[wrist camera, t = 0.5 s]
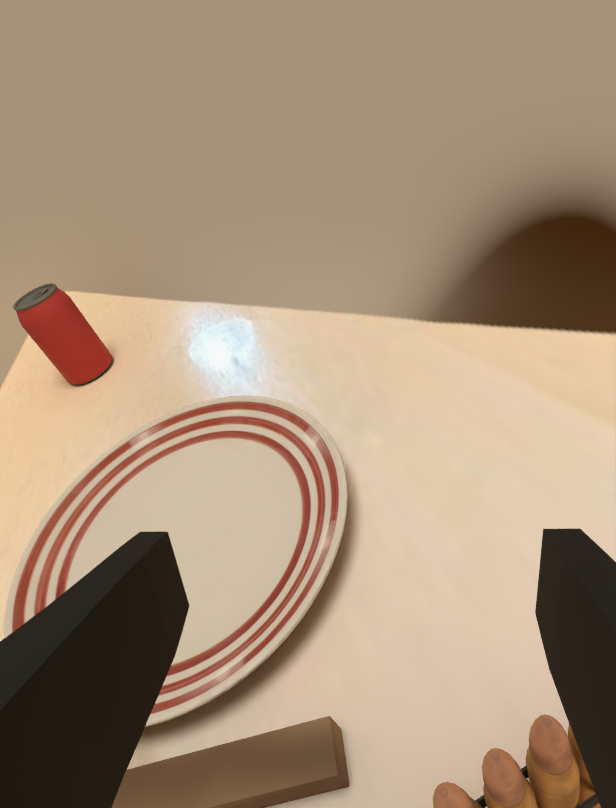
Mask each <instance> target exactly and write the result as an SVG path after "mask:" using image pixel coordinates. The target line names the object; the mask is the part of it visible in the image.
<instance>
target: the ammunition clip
mask: <svg viewBox="0 0 616 808" xmlns="http://www.w3.org/2000/svg"><path fill="white" fill-rule="evenodd" d="M482 772H483V780H484V788H483V790H484V795H483V796H482V797H480V798H479V799H477V800H476V801H475V800H473V799H472V798H470V797H469V795H468V794H467V793H466V792H465V791H464V790H463V789H462V788H460V787H459V786H457V785H456V784H453V783H449V782H445V783H441V784H440V785H438V786H437V788H436V789H435V792H434V796H433V805H434V808H485V807H486V806H487V807H488V808H601V806H600V804H599V801H598V798H597V796H596V793H595V790H594V788H593V785H592V782H591V780H590V777H589V774H588V772H587V769H586V766H585V764H584V761H583V758H582V756H581V753H580V750H579V748H578V745H577V742H576V740H575V737H574V734H573V732H572V729H571V726H570V724H569V728H568V736H567V734H566V732H565V730H564V728H563V727H562V725H561V724H560V723H559V722H558V721H557V720H556V719H554V718H553V717H551V716H549V715H542V716H540V717H538V718H537V719H536V720H535V721H534V723H533V725H532V726H531V730H530V736H529V748H528V750H527V755H526V766H525V767H524V768H522V769H521V770H520V767H519V765H518V764H517V762H516V761H515V760H514V759H513V758H512V756H511V755H510V754H508V753H507V752H505V751H504V750H502V749H497V748H495V749H491V750H490V751H488V752H487V754H486V755H485V757H484V760H483V765H482ZM528 777H529V781H530V783H529V781H528V780H527V779H526V778H528Z"/></svg>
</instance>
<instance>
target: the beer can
mask: <svg viewBox="0 0 616 808" xmlns="http://www.w3.org/2000/svg"><path fill="white" fill-rule="evenodd" d="M13 308H14V310H16V311H17V315H18V318H19V321H20V323H21V325H22V327H23V328H24V329H25V330H26V331H27V333H28V334H29V335H30V336H31V338H32V339H33V340H34V341H35V342H36V344H37V345H38V346H39V347H40V349H41V350H42V351H43V352H44V353H45V355H46V356H47V357H48V358H49V359H50V361H51V362H52V363H53V364H54V366H55V367H56V368H57V369H58V370H59V372H60V373H61V374H62V375H63V376H64V378H65V379H66V380H67V381H68V382H69V383H71V384H74V385H81V384H85V383H88V382H90V381H92V380H94V379H96V378H97V377H99V376H100V375H101V374H103V373H104V372H105V371H106V370H107V369H108V368H109V366H110V364H111V361H112V355H111V354H110V352H109V351H108V350H107V348H106V347H105V345H104V344H103V343H102V341H101V340H100V338H99V337H98V336H97V334H96V333H95V332H94V330H93V329H92V327H91V326H90V325H89V323H88V322H87V320H86V319H85V318H84V316H83V315H82V313H81V312H80V311H79V309H78V308H77V307H76V305H75V304H74V302H73V301H72V300H71V298H70V297H69V296H68V295H67V294H66V293H65V292H63V291H62V290H60V289H59V288H57V287H56V285H55V284H46V285H43V286H40V287H38V288H35V289H34V290H32V291H30V292H28V293H27V294H25V295H24V296H22V297H21V298H20V299H19V300H18V301H17V302H16V303H15V304H14V306H13Z"/></svg>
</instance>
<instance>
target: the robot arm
mask: <svg viewBox="0 0 616 808" xmlns="http://www.w3.org/2000/svg"><path fill="white" fill-rule="evenodd" d="M188 609H189V602H188V599H187V595H186V592H185V589H184V585H183V582H182V578H181V575H180V572H179V568H178V565H177V561H176V558H175V555H174V551H173V548H172V544H171V541H170V538H169V534H168V532H139V533H138V534H136V535H135V536H134V537H132V538H131V539H130V540H128V541H127V542H126V543H124V544H123V545H122V546H121V547H119V548H118V549H117V550H116V551H114V552H113V553H112V554H111V555H109V556H108V557H107V558H106V559H105V560H103V561H102V562H101V563H100V564H99V565H97V566H96V567H95V568H94V569H92V570H91V571H90V572H89V573H88V574H86V575H85V576H84V577H83V578H81V579H80V580H79V581H78V582H76V583H75V584H74V585H73V586H72V587H70V588H69V589H68V590H67V591H65V592H64V593H63V594H62V595H60V596H59V597H58V598H57V599H55V600H54V601H53V602H52V603H51V604H49V605H48V606H47V607H45V608H44V609H43V610H41V611H40V612H39V613H38V614H36V615H35V616H34V617H32V618H31V619H30V620H28V621H27V622H26V623H24V624H23V625H22V626H20V627H19V628H18V629H16V630H15V631H14V632H12V633H11V634H10V635H8V636H7V637H6V638H4V639H3V640H2V641H1V642H0V808H112V805H113V802H114V800H115V797H116V795H117V792H118V790H119V787H120V784H121V782H122V779H123V777H124V774H125V772H126V770H127V767H128V765H129V763H130V760H131V758H132V756H133V753H134V751H135V749H136V746H137V744H138V742H139V739H140V737H141V735H142V732H143V730H144V728H145V725H146V723H147V721H148V719H149V716H150V714H151V712H152V709H153V707H154V705H155V702H156V700H157V698H158V695H159V693H160V691H161V688H162V686H163V683H164V681H165V679H166V676H167V674H168V672H169V669H170V667H171V664H172V662H173V659H174V657H175V654H176V651H177V648H178V645H179V641H180V638H181V635H182V631H183V628H184V624H185V620H186V617H187V613H188ZM535 613H536V617H537V621H538V625H539V629H540V634H541V638H542V642H543V646H544V650H545V654H546V657H547V661H548V665H549V669H550V672H551V675H552V677H553V680H554V683H555V686H556V688H557V691H558V694H559V697H560V699H561V702H562V705H563V707H564V710H565V713H566V716H567V718H568V721H569V724H570V726H571V729H572V732H573V734H574V737H575V740H576V742H577V745H578V748H579V750H580V753H581V756H582V758H583V761H584V764H585V766H586V769H587V772H588V774H589V777H590V780H591V782H592V785H593V788H594V790H595V793H596V796H597V798H598V801H599V804H600V806H601V808H616V562H615V561H614V560H613V559H612V558H611V557H610V556H609V555H608V554H606V553H605V552H604V551H603V550H602V549H601V548H600V547H599V546H598V545H597V544H596V543H595V542H594V541H593V540H592V539H591V538H590V537H588V536H587V535H586V534H585V533H584V532H583V531H582V530H581V529H543V539H542V549H541V560H540V570H539V581H538V591H537V602H536V612H535Z"/></svg>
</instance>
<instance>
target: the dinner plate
mask: <svg viewBox="0 0 616 808" xmlns="http://www.w3.org/2000/svg"><path fill="white" fill-rule="evenodd" d="M347 499H348V492H347V479H346V472H345V469H344V465H343V461H342V457H341V455H340V453H339V450H338V448H337V446H336V444H335V443H334V441H333V439H332V438H331V436H330V435H329V433H328V432H327V431H326V429H325V428H324V427H323V426H322V425H321V424H320V423H319V422H318V421H317V420H316V419H314V418H313V417H312V416H311V415H309V414H308V413H306V412H304V411H303V410H301V409H299V408H297V407H295V406H293V405H291V404H288V403H286V402H283V401H280V400H276V399H271V398H266V397H258V396H231V397H224V398H218V399H213V400H208V401H204V402H200V403H197V404H193V405H190V406H187V407H184V408H182V409H179V410H177V411H174V412H172V413H170V414H167V415H165V416H163V417H161V418H159V419H157V420H155V421H153V422H151V423H149V424H147V425H145V426H143V427H142V428H140V429H138V430H137V431H135V432H133V433H132V434H130V435H129V436H127V437H126V438H124V439H123V440H121V441H120V442H118V443H117V444H116V445H114V446H113V447H112V448H111V449H109V450H108V451H106V452H105V453H104V454H103V455H101V456H100V457H99V458H98V459H97V460H96V461H94V462H93V463H92V464H91V465H90V466H89V467H88V468H87V469H86V470H85V471H84V472H83V473H82V474H80V475H79V476H78V477H77V478H76V479H75V480H74V482H73V483H72V484H71V485H70V486H69V487H68V488H67V489H66V490H65V491H64V493H63V494H62V495H61V496H60V497H59V499H58V500H57V501H56V502H55V503H54V505H53V506H52V507H51V509H50V510H49V511H48V513H47V514H46V516H45V517H44V519H43V520H42V521H41V523H40V525H39V526H38V528H37V530H36V531H35V533H34V535H33V536H32V538H31V540H30V542H29V544H28V546H27V548H26V549H25V551H24V553H23V555H22V558H21V560H20V563H19V565H18V567H17V570H16V572H15V575H14V578H13V581H12V584H11V588H10V592H9V596H8V600H7V605H6V612H5V621H4V638H6V637H7V636H8V635H10V634H11V633H12V632H14V631H15V630H16V629H18V628H19V627H20V626H22V625H23V624H24V623H26V622H27V621H28V620H30V619H31V618H32V617H34V616H35V615H36V614H38V613H39V612H40V611H41V610H43V609H44V608H45V607H47V606H48V605H49V604H51V603H52V602H53V601H54V600H55V599H57V598H58V597H59V596H60V595H62V594H63V593H64V592H65V591H67V590H68V589H69V588H70V587H72V586H73V585H74V584H75V583H76V582H78V581H79V580H80V579H81V578H83V577H84V576H85V575H86V574H88V573H89V572H90V571H91V570H92V569H94V568H95V567H96V566H97V565H99V564H100V563H101V562H102V561H103V560H105V559H106V558H107V557H108V556H109V555H111V554H112V553H113V552H114V551H116V550H117V549H118V548H119V547H121V546H122V545H123V544H124V543H126V542H127V541H128V540H130V539H131V538H132V537H134V536H135V535H136V534H138V533H139V532H168V534H169V538H170V541H171V544H172V548H173V551H174V555H175V558H176V561H177V565H178V568H179V572H180V575H181V578H182V582H183V585H184V589H185V592H186V595H187V599H188V602H189V609H188V613H187V617H186V620H185V624H184V628H183V631H182V635H181V638H180V641H179V645H178V648H177V651H176V654H175V657H174V659H173V662H172V664H171V667H170V669H169V672H168V674H167V676H166V679H165V681H164V683H163V686H162V688H161V691H160V693H159V695H158V698H157V700H156V702H155V705H154V707H153V709H152V712H151V714H150V716H149V719H148V721H147V723H146V725H145V727H148V726H152V725H156V724H159V723H162V722H166V721H169V720H172V719H174V718H177V717H179V716H182V715H184V714H186V713H189V712H191V711H193V710H195V709H197V708H199V707H201V706H203V705H205V704H206V703H208V702H209V701H211V700H213V699H215V698H216V697H218V696H220V695H222V694H223V693H225V692H226V691H228V690H229V689H231V688H232V687H234V686H235V685H237V684H238V683H239V682H241V681H242V680H243V679H245V678H246V677H247V676H248V675H249V674H251V673H252V672H253V671H254V670H255V669H256V668H258V667H259V666H260V665H261V664H262V663H263V662H264V661H266V660H267V659H268V658H269V657H270V656H271V655H272V654H273V653H274V652H275V651H276V650H277V648H278V647H279V646H280V645H281V644H282V643H283V642H284V641H285V640H286V638H287V637H288V636H289V634H290V633H291V632H292V631H293V630H294V629H295V628H296V626H297V625H298V624H299V623H300V621H301V620H302V618H303V617H304V615H305V614H306V612H307V611H308V609H309V608H310V606H311V605H312V603H313V602H314V600H315V598H316V597H317V595H318V593H319V591H320V590H321V588H322V586H323V584H324V582H325V580H326V578H327V576H328V574H329V572H330V569H331V567H332V565H333V562H334V560H335V557H336V554H337V551H338V548H339V545H340V542H341V538H342V535H343V531H344V527H345V520H346V512H347Z"/></svg>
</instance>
